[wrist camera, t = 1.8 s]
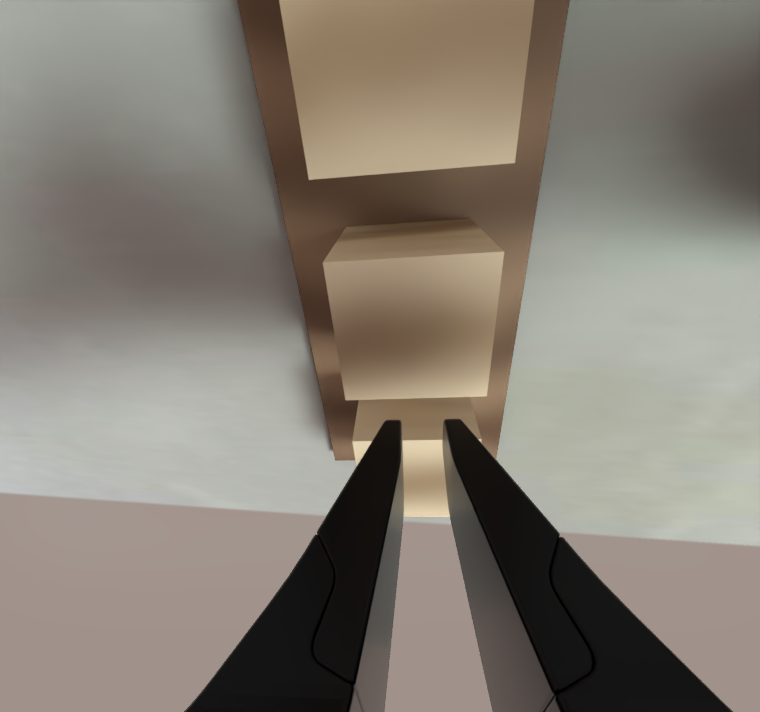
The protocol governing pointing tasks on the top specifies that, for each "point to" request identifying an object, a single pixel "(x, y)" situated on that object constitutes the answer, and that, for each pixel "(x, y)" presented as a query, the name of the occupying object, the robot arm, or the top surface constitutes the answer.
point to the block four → (416, 445)
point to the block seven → (407, 82)
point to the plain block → (414, 308)
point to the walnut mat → (404, 204)
